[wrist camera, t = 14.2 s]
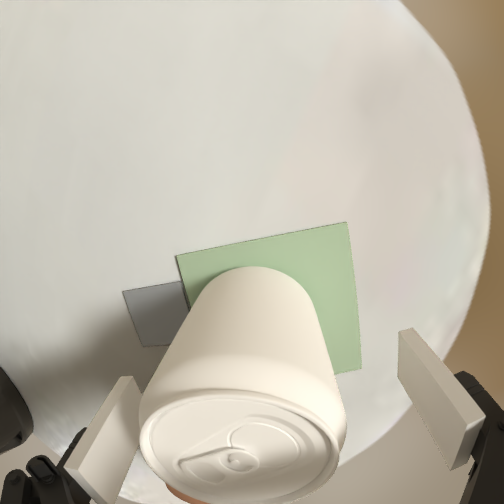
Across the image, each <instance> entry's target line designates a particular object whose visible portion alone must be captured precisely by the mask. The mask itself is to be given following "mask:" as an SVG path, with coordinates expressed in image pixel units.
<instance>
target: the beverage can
mask: <svg viewBox="0 0 504 504" xmlns="http://www.w3.org/2000/svg"><path fill="white" fill-rule="evenodd" d="M139 426H140V435H139V444H140V449H141V452H142V455H143V457H144V459H145V461H146V463H147V464H148V465H149V467H150V468H151V469H152V470H153V472H154V473H155V474H156V475H157V476H158V477H159V478H161V479H162V480H163V481H164V482H165V483H167V484H168V485H170V486H171V487H173V488H174V489H176V490H178V491H179V492H181V493H183V494H185V495H187V496H190V497H192V498H194V499H197V500H200V501H203V502H206V503H210V504H288V503H291V502H294V501H297V500H300V499H302V498H304V497H306V496H308V495H310V494H311V493H313V492H315V491H317V490H318V489H319V488H321V487H322V486H323V485H324V484H325V483H326V482H327V481H328V480H329V479H330V478H331V477H332V475H333V474H334V472H335V470H336V468H337V465H338V462H339V453H340V451H341V449H342V447H343V444H344V441H345V437H346V430H347V422H346V415H345V411H344V407H343V403H342V400H341V396H340V393H339V389H338V385H337V382H336V378H335V375H334V371H333V368H332V364H331V361H330V358H329V354H328V351H327V347H326V344H325V341H324V337H323V334H322V331H321V327H320V324H319V321H318V318H317V314H316V311H315V308H314V305H313V303H312V300H311V299H310V297H309V295H308V294H307V292H306V291H305V290H304V288H303V287H302V286H301V285H300V284H299V283H298V282H296V281H295V280H294V279H293V278H291V277H289V276H288V275H286V274H284V273H282V272H280V271H277V270H274V269H271V268H266V267H259V266H247V267H240V268H236V269H232V270H229V271H227V272H225V273H222V274H221V275H219V276H217V277H216V278H214V279H213V280H212V281H211V282H209V283H208V284H207V285H206V287H205V288H204V289H203V290H202V292H201V293H200V295H199V296H198V298H197V300H196V301H195V303H194V305H193V307H192V308H191V310H190V312H189V313H188V315H187V317H186V319H185V320H184V322H183V324H182V326H181V327H180V329H179V331H178V333H177V334H176V336H175V338H174V340H173V341H172V343H171V345H170V347H169V348H168V350H167V352H166V354H165V355H164V357H163V359H162V361H161V362H160V364H159V366H158V368H157V369H156V371H155V373H154V375H153V377H152V378H151V380H150V382H149V384H148V386H147V387H146V389H145V391H144V393H143V395H142V398H141V401H140V406H139Z"/></svg>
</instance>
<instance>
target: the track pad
mask: <svg viewBox="0 0 504 504" xmlns="http://www.w3.org/2000/svg"><path fill="white" fill-rule="evenodd" d="M123 294H124V297H125V300H126V303H127V306H128V309H129V311H130V314H131V317H132V320H133V323H134V325H135V328H136V331H137V333H138V336H139V339H140V341H141V344H142V346H143V347H146V346H157V345H167V344H171V343H172V341H173V340H174V338H175V336H176V334H177V333H178V331H179V329H180V327H181V326H182V324H183V322H184V320H185V319H186V317H187V315H188V313H189V312H190V311H189V308H188V305H187V301H186V298H185V294H184V291H183V288H182V284H181V281H178V282H172V283H167V284H161V285H155V286H150V287H144V288H138V289H132V290H127V291H123Z"/></svg>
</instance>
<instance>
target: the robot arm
mask: <svg viewBox="0 0 504 504" xmlns="http://www.w3.org/2000/svg"><path fill="white" fill-rule="evenodd" d="M397 377H398V379H399V380H400V382H401V384H402V385H403V387H404V389H405V390H406V392H407V394H408V395H409V397H410V399H411V401H412V402H413V404H414V406H415V407H416V409H417V411H418V413H419V415H420V416H421V418H422V420H423V421H424V423H425V425H426V427H427V429H428V431H429V432H430V434H431V436H432V438H433V440H434V442H435V443H436V445H437V447H438V449H439V451H440V453H441V454H442V456H443V458H444V460H445V462H446V464H447V466H448V468H449V470H450V471H451V470H453V469H456V468H458V467H460V466H462V465H464V464H466V463H467V462H468V460H469V458H470V455H472V456H473V458H474V460H475V462H474V464H473V466H472V468H471V470H470V472H469V474H468V475H470V476H469V479H468V482H467V485H466V488H465V490H464V493H463V496H462V498H461V501H460V504H504V411H503V410H502V409H501V408H500V406H499V405H498V404H497V403H496V402H495V401H494V399H493V398H492V397H491V396H490V395H489V393H488V392H487V391H486V390H484V388H483V387H482V385H480V384H479V382H478V381H477V380H476V379H475V377H474V376H473V375H470V374H469V373H467V372H465V371H462V372H459V373H457V374H454V375H453V374H452V373H451V372H450V370H449V369H448V368H447V367H446V366H445V364H444V363H443V362H442V361H441V360H440V358H439V357H438V356H437V355H436V354H435V353H434V351H433V350H432V349H431V348H430V347H429V346H428V344H427V343H426V342H425V341H424V340H423V339H422V338H421V337H420V335H419V334H418V333H417V332H416V331H415V330H414V329H413V328H410V329H406V330H403V331H399V332H398V376H397ZM141 398H142V394H141V392H140V390H139V388H138V386H137V384H136V382H135V379H134V377H133V376H120V378H119V379H118V381H117V383H116V384H115V386H114V387H113V389H112V390H111V392H110V393H109V395H108V396H107V398H106V399H105V401H104V402H103V404H102V406H101V407H100V409H99V410H98V412H97V413H96V415H95V417H94V418H93V420H92V421H91V423H90V424H89V426H88V428H86V427H84V428H83V429H82V430H81V431H80V432H78V433H77V435H76V436H75V438H74V439H73V441H72V443H71V444H70V445H69V449H67V450H66V452H65V453H64V455H63V457H62V458H61V460H60V461H59V463H58V465H57V466H55V465H54V464H53V463H52V462H51V460H50V459H49V458H48V457H46V456H44V455H39V456H35V457H33V458H32V459H31V460H30V461H28V463H27V465H26V470H27V471H28V473H29V474H30V475H31V476H32V477H28V476H27V475H26V474H25V473H24V472H23V471H22V470H20V469H16V470H12V471H11V472H9V473H8V474H7V475H6V478H5V480H4V485H3V490H2V495H1V501H0V504H90V503H89V502H90V500H91V498H92V499H93V500H94V501H95V502H96V503H97V504H115V501H116V499H117V497H118V494H119V492H120V489H121V487H122V484H123V482H124V480H125V477H126V475H127V472H128V470H129V468H130V465H131V463H132V460H133V458H134V456H135V453H136V451H137V449H138V446H139V435H140V426H139V406H140V401H141ZM32 432H33V421H32V418H31V415H30V413H29V410H28V408H27V406H26V404H25V402H24V401H23V399H22V397H21V396H20V394H19V392H18V391H17V389H16V388H15V386H14V385H13V383H12V382H11V381H10V379H9V378H8V377H7V375H6V374H5V373H4V372H3V370H2V369H1V368H0V455H1V454H3V453H5V452H7V451H9V450H11V449H13V448H15V447H17V446H19V445H21V444H23V443H24V442H25V441H26V440H27V438H28V437H29V436H30V434H31V433H32Z"/></svg>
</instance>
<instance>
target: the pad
mask: <svg viewBox="0 0 504 504" xmlns="http://www.w3.org/2000/svg"><path fill="white" fill-rule="evenodd" d="M176 257H177V260H178V264H179V268H180V271H181V275H182V279H183V282H184V286H185V289H186V293H187V296H188V299H189V303H190V306H191V308H192V307H193V305H194V303H195V301H196V300H197V298H198V296H199V295H200V293H201V292H202V290H203V289H204V288H205V287H206V285H207V284H208V283H209V282H211V281H212V280H213V279H214V278H216V277H217V276H219V275H221V274H222V273H225V272H227V271H229V270H232V269H236V268H240V267H247V266H259V267H266V268H271V269H274V270H277V271H280V272H282V273H284V274H286V275H288V276H289V277H291V278H293V279H294V280H295V281H296V282H298V283H299V284H300V285H301V286H302V287H303V288H304V290H305V291H306V292H307V294H308V295H309V297H310V299H311V300H312V303H313V305H314V308H315V311H316V314H317V318H318V321H319V324H320V327H321V331H322V334H323V337H324V341H325V344H326V347H327V351H328V354H329V358H330V361H331V364H332V368H333V371H334V375H335V374H340V373H344V372H349V371H353V370H357V369H362V362H361V344H360V329H359V316H358V305H357V295H356V285H355V276H354V268H353V260H352V252H351V245H350V237H349V231H348V224H347V222H343V223H338V224H333V225H328V226H322V227H317V228H312V229H307V230H302V231H296V232H291V233H286V234H281V235H276V236H271V237H266V238H261V239H256V240H250V241H245V242H240V243H235V244H230V245H225V246H220V247H215V248H210V249H206V250H201V251H196V252H191V253H186V254H181V255H177V256H176Z"/></svg>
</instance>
